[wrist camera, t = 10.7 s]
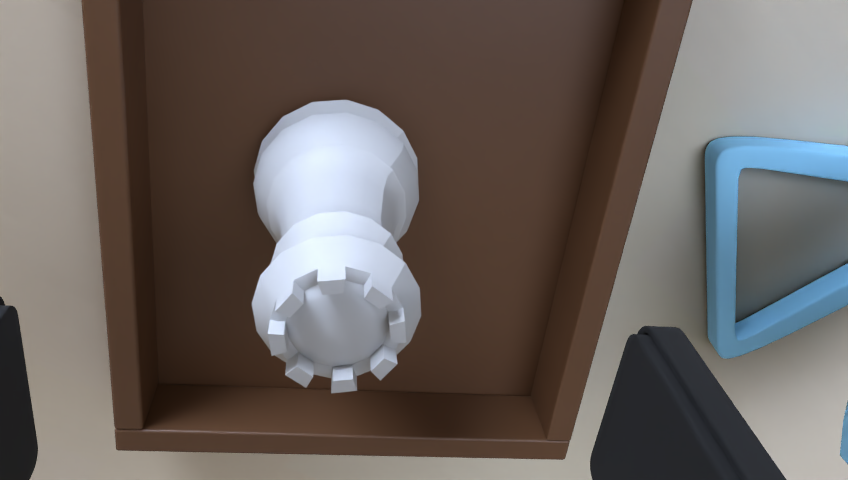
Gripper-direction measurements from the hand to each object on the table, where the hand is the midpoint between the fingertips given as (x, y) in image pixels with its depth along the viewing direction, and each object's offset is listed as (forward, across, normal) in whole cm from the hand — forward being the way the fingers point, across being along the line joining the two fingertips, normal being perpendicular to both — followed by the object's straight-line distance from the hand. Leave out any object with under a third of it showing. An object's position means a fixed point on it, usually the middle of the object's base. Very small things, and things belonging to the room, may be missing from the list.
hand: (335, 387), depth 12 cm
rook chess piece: (+10, 0, +1) cm, 10 cm away
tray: (+11, -1, 0) cm, 11 cm away
